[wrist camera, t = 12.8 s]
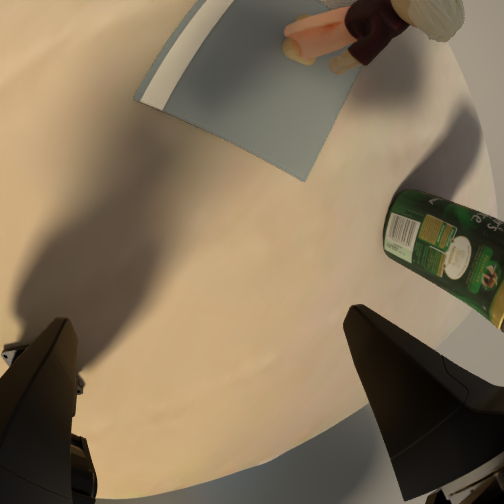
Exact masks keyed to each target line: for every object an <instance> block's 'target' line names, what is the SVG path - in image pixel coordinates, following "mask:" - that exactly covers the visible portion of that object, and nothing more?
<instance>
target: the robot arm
mask: <svg viewBox="0 0 504 504" xmlns="http://www.w3.org/2000/svg"><path fill="white" fill-rule="evenodd" d="M343 329H344V332H345V336H346V339H347V342H348V345H349V349H350V352H351V355H352V359H353V362H354V365H355V368H356V370H357V373H358V375H359V378H360V380H361V382H362V385H363V387H364V390H365V392H366V395H367V398H368V400H369V403H370V405H371V408H372V410H373V413H374V416H375V418H376V421H377V424H378V426H379V429H380V432H381V434H382V437H383V440H384V443H385V445H386V448H387V451H388V454H389V457H390V459H391V463H392V466H393V469H394V472H395V475H396V478H397V481H398V484H399V487H400V490H401V493H402V497H403V499H404V501H408V500H411V499H413V498H416V497H419V496H421V495H424V494H426V493H429V492H431V491H433V490H436V489H437V490H436V491H434V492H433V493H431V494H430V495H429V496H428V497H427V500H426V503H425V504H504V387H500V386H495V385H492V384H490V383H488V382H487V381H485V380H483V379H481V378H479V377H478V376H476V375H474V374H472V373H470V372H468V371H467V370H465V369H463V368H462V367H460V366H458V365H457V364H455V363H453V362H452V361H450V360H449V359H447V358H446V357H444V356H443V355H440V354H439V353H438V352H436V351H435V350H433V349H432V348H430V347H429V346H427V345H426V344H424V343H423V342H421V341H419V340H418V339H416V338H415V337H413V336H412V335H410V334H409V333H407V332H406V331H404V330H402V329H401V328H399V327H398V326H396V325H395V324H393V323H392V322H390V321H388V320H387V319H385V318H384V317H382V316H381V315H379V314H377V313H376V312H374V311H373V310H371V309H370V308H368V307H366V306H365V305H363V304H357V305H352V306H351V307H350V308H349V311H348V313H347V315H346V317H345V320H344V322H343ZM77 345H78V340H77V336H76V333H75V331H74V329H73V326H72V324H71V322H70V320H69V319H68V318H63V317H57V318H55V319H54V320H53V321H52V322H51V323H50V324H49V325H48V326H47V327H46V328H45V329H44V330H43V331H42V332H41V333H40V335H39V336H38V337H37V338H36V339H35V340H34V341H33V342H32V343H31V344H30V345H27V346H21V347H16V348H11V349H5V350H3V351H2V354H1V356H2V357H3V359H4V360H5V362H6V363H7V365H8V366H9V369H8V370H7V371H6V372H5V373H4V374H3V376H2V377H1V378H0V504H95V501H96V500H95V497H96V494H97V476H96V472H95V469H94V466H93V463H92V459H91V456H90V452H89V448H88V444H87V440H86V438H83V437H81V436H77V435H74V434H72V433H71V427H72V417H74V416H75V412H76V399H77V395H81V394H83V387H82V386H81V385H80V383H79V382H78V380H77V379H76V359H77Z"/></svg>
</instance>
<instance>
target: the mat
mask: <svg viewBox="0 0 504 504" xmlns="http://www.w3.org/2000/svg"><path fill="white" fill-rule="evenodd" d="M327 11H331V10H330V9H329V8H328V7H326V6H325V5H324V4H322V3H321V2H320V1H318V0H198V1H197V2H196V3H195V5H194V6H193V7H192V8H191V10H190V11H189V12H188V14H187V15H186V16H185V17H184V19H183V20H182V21H181V23H180V24H179V25H178V27H177V28H176V30H175V31H174V32H173V34H172V35H171V37H170V38H169V40H168V41H167V43H166V44H165V46H164V47H163V49H162V50H161V52H160V53H159V55H158V56H157V58H156V60H155V61H154V63H153V64H152V66H151V68H150V69H149V71H148V73H147V74H146V76H145V78H144V80H143V81H142V83H141V85H140V87H139V89H138V90H137V92H136V94H135V96H134V98H133V100H135V101H137V102H140V103H142V104H145V105H147V106H150V107H152V108H155V109H157V110H160V111H162V112H165V113H167V114H169V115H172V116H174V117H176V118H179V119H181V120H183V121H185V122H188V123H190V124H192V125H194V126H196V127H199V128H201V129H203V130H205V131H207V132H209V133H211V134H214V135H216V136H218V137H220V138H222V139H224V140H226V141H228V142H230V143H232V144H234V145H236V146H238V147H240V148H242V149H244V150H246V151H248V152H250V153H251V154H253V155H255V156H257V157H259V158H261V159H263V160H265V161H267V162H268V163H270V164H272V165H274V166H276V167H277V168H279V169H281V170H283V171H285V172H286V173H288V174H290V175H292V176H293V177H295V178H297V179H299V180H300V181H303V182H305V181H306V179H307V177H308V175H309V173H310V171H311V169H312V167H313V165H314V163H315V161H316V159H317V157H318V155H319V153H320V151H321V149H322V147H323V145H324V143H325V141H326V139H327V137H328V135H329V133H330V131H331V129H332V127H333V124H334V122H335V120H336V118H337V116H338V114H339V112H340V110H341V108H342V106H343V104H344V102H345V100H346V98H347V96H348V93H349V91H350V89H351V87H352V85H353V83H354V81H355V79H356V77H357V75H358V73H359V70H360V68H361V66H362V65H360V66H358V67H356V68H354V69H349V70H348V71H347V72H346V73H345V74H343V75H337V74H335V73H333V72H332V71H331V70H330V68H329V62H330V60H331V59H332V58H334V57H337V56H340V55H341V53H342V52H344V51H345V50H347V48H348V47H350V46H351V45H352V44H353V43H351V44H348V45H346V46H345V47H343V48H341V49H339V50H336V51H333V52H330V53H328V54H325V55H321V56H318V57H317V60H316V62H315V63H314V64H313V65H311V66H306V65H304V64H301V63H299V62H296V61H294V60H291V59H289V58H288V57H286V55H285V54H284V53H283V51H282V44H283V42H284V40H285V39H286V38H287V37H286V36H285V35H284V29H285V27H286V26H287V25H289V24H291V23H293V22H295V20H296V18H297V17H299V16H300V15H304V14H307V15H311V16H313V15H317V14H320V13H324V12H327Z"/></svg>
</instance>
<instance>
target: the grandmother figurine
mask: <svg viewBox="0 0 504 504" xmlns="http://www.w3.org/2000/svg"><path fill="white" fill-rule="evenodd" d="M463 23H464V7H463V2H462V0H358V1H356V2H355V3H353V4H352V5H351V6H348V7H342V8H338V9H334V10H331V11H327V12H324V13H320V14H317V15H313V16H311V15H307V14H304V15H300V16H299V17H297V18H296V20H295V22H293V23H291V24H289V25H287V26H286V27H285V29H284V35H285V36H286V37H287V38H286V39H285V40H284V42H283V44H282V51H283V53H284V54H285V55H286V57H288V58H289V59H291V60H294V61H296V62H299V63H301V64H304V65H306V66H311V65H313V64H314V63H315V62H316V60H317V57H318V56H321V55H325V54H328V53H330V52H333V51H336V50H339V49H341V48H343V47H345V46H346V45H348V44H351V43H353V44H352V45H351V46H350V47H348V48H347V50H345V51H344V52H342V53H341V55H340V56H337V57H334V58H332V59H331V60H330V62H329V68H330V70H331V71H332V72H333V73H335V74H337V75H343V74H345V73H346V72H347V71H348V70H349V69H354V68H356V67H358V66H360V65H364V66H366V65H368V64H369V63H370V62H371V61H372V60H373V59H374V58H375V57H376V56H377V55H378V54H379V53H380V51H382V50H383V49H384V48H385V47H386V46H387V45H388V43H389V42H390V41H391V39H392V38H394V37H396V36H398V35H400V34H401V33H402V32H403V31H404V30H406V29H407V27H409V25H412V26H415V27H417V28H419V29H420V30H422V31H423V32H424V33H426V34H427V35H428V37H429V39H435V40H436V41H437V42H446V41H448V40H450V38H451V37H453V36H454V35H455V33H456V32H457V31H458V30H459V29H460V28H461V26H462V25H463Z"/></svg>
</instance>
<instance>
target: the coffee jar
mask: <svg viewBox="0 0 504 504" xmlns="http://www.w3.org/2000/svg"><path fill="white" fill-rule="evenodd" d="M383 247H384V251H385V253H386V255H387V256H388V257H389V258H391V259H392V260H394V261H396V262H398V263H399V264H401V265H403V266H405V267H406V268H408V269H410V270H412V271H413V272H415V273H417V274H419V275H420V276H422V277H424V278H425V279H427V280H429V281H431V282H432V283H434V284H436V285H437V286H439V287H440V288H442V289H444V290H445V291H447V292H448V293H450V294H452V295H453V296H455V297H456V298H458V299H460V300H461V301H463V302H464V303H466V304H467V305H469V306H470V307H472V308H473V309H475V310H476V311H477V312H479V313H480V314H481V315H483V316H484V317H485V318H486V319H488V320H489V321H490V322H491V323H492V324H493V325H495V326H496V327H497V328H498V329H500V330H501V331H502V332H504V222H503V221H501V220H498V219H496V218H494V217H491V216H489V215H486V214H484V213H481V212H479V211H476V210H473V209H471V208H468V207H465V206H463V205H460V204H457V203H454V202H452V201H449V200H446V199H443V198H441V197H437V196H434V195H431V194H428V193H425V192H422V191H418V190H406V191H403V192H401V193H400V194H399V196H398V197H397V198H396V200H395V201H394V203H393V205H392V207H391V209H390V211H389V213H388V216H387V219H386V223H385V227H384V237H383Z"/></svg>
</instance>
